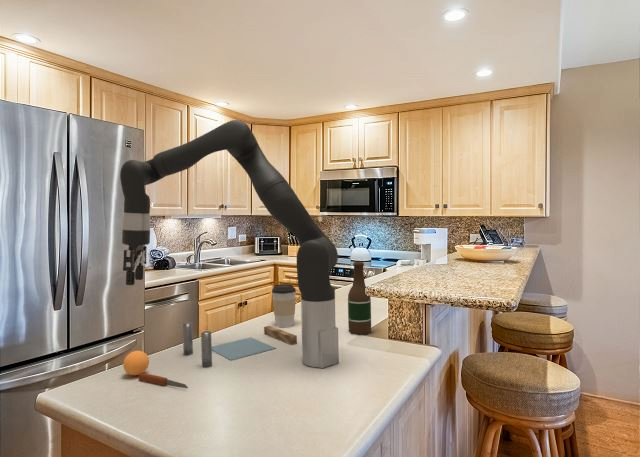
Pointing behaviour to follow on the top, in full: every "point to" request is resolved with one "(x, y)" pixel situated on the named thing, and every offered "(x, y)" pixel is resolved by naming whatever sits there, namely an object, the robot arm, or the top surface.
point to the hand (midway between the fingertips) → (134, 282)
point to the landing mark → (241, 348)
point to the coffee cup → (284, 304)
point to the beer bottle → (359, 304)
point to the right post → (206, 349)
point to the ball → (136, 363)
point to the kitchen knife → (159, 380)
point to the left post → (187, 338)
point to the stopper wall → (280, 335)
